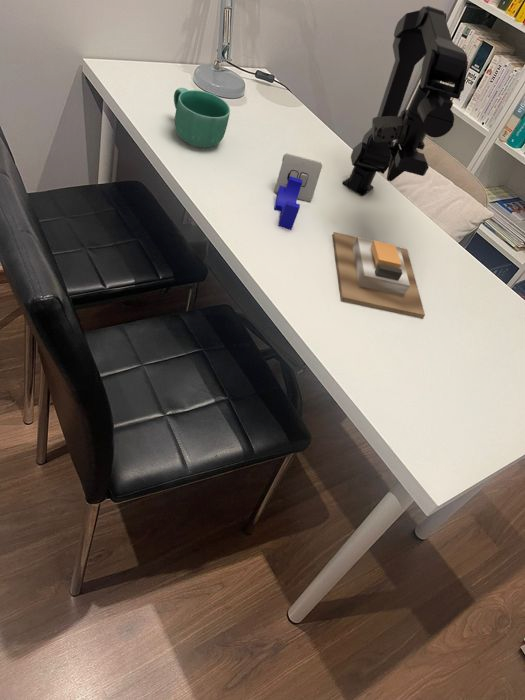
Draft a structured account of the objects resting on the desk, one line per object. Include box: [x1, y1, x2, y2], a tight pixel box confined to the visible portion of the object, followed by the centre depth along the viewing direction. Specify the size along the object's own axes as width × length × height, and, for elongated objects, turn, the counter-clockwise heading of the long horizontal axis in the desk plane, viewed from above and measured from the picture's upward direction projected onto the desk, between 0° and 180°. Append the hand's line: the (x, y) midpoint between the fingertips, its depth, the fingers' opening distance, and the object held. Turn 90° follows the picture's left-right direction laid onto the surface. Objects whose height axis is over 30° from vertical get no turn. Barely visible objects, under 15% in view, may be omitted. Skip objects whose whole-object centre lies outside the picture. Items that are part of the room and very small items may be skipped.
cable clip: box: [273, 176, 302, 231], centre depth 129 cm, size 12×4×6 cm, turn 175°
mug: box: [173, 87, 231, 148], centre depth 140 cm, size 17×13×10 cm
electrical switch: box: [273, 152, 323, 202], centre depth 135 cm, size 9×5×9 cm, turn 90°
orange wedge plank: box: [371, 240, 402, 269], centre depth 120 cm, size 7×5×2 cm
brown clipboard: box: [331, 231, 426, 319], centre depth 122 cm, size 22×18×6 cm
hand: (388, 180), depth 127 cm, fingers closed
